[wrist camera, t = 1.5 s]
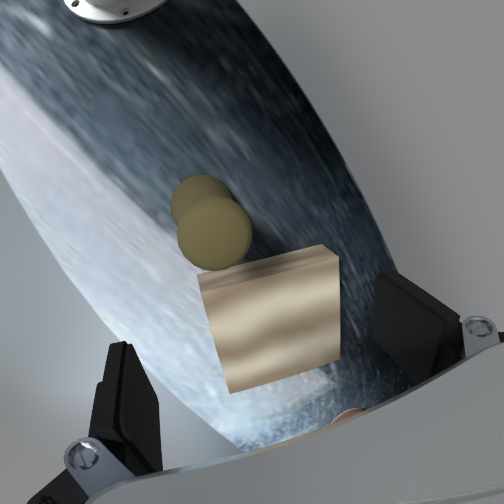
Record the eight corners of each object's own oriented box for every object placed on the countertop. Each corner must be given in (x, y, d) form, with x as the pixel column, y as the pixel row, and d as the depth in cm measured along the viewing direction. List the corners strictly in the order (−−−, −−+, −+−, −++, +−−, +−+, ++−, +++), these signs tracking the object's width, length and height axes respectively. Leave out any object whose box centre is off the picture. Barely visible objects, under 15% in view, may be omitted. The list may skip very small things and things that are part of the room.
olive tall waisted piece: (244, 199, 31) (281, 232, 21) (206, 246, 32) (225, 299, 22) (197, 161, 29) (211, 175, 19) (157, 212, 30) (152, 251, 20)
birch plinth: (196, 275, 33) (200, 292, 29) (321, 244, 35) (338, 256, 31) (223, 372, 38) (229, 393, 35) (326, 341, 41) (339, 359, 37)
